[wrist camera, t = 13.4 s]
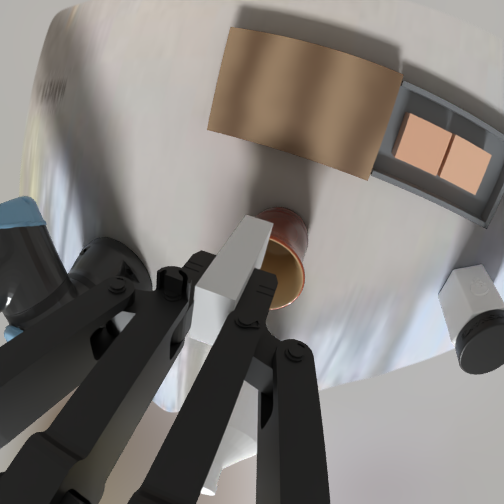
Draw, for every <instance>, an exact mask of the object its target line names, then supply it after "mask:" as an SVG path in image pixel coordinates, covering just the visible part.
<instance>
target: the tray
mask: <svg viewBox="0 0 504 504" xmlns="http://www.w3.org/2000/svg"><path fill="white" fill-rule="evenodd" d="M405 112H408V113H411V114H413V115H415V116H417V117H420V118H422V119H424V120H426V121H428V122H430V123H432V124H434V125H436V126H438V127H440V128H442V129H444V130H446V131H448V132H451V133H453V134H456V135H457V136H459V137H461V138H463V139H465V140H467V141H468V142H470V143H472V144H474V145H475V146H477V147H479V148H481V149H482V150H484V151H486V152H487V153H489V154H491V155H492V156H491V159H490V161H489V164H488V166H487V169H486V171H485V174H484V176H483V178H482V181H481V183H480V186H479V188H478V190H477V192H476V195H474V194H472V193H470V192H468V191H466V190H464V189H462V188H461V187H459V186H457V185H455V184H453V183H451V182H449V181H447V180H445V179H443V178H441V177H439V176H438V175H436V176H435V175H432V174H430V173H428V172H426V171H424V170H422V169H420V168H417V167H415V166H413V165H411V164H409V163H406V162H404V161H402V160H399V159H397V158H395V157H394V156H393V155H392V153H391V152H392V150H393V147H394V144H395V141H396V139H397V136H398V133H399V130H400V127H401V124H402V121H403V118H404V115H405ZM371 176H373V177H376V178H378V179H381V180H383V181H386V182H388V183H391V184H393V185H395V186H398V187H400V188H402V189H405V190H407V191H409V192H412V193H414V194H416V195H418V196H421V197H423V198H425V199H427V200H429V201H432V202H434V203H436V204H438V205H440V206H442V207H444V208H446V209H448V210H450V211H452V212H454V213H456V214H458V215H460V216H462V217H464V218H466V219H468V220H470V221H472V222H474V223H476V224H478V225H480V226H482V227H484V228H485V229H487V227H488V225H489V223H490V221H491V219H492V217H493V215H494V213H495V211H496V209H497V207H498V205H499V203H500V200H501V198H502V196H503V194H504V134H502V133H501V132H499V131H497V130H496V129H494V128H493V127H491V126H490V125H488V124H486V123H485V122H483V121H482V120H480V119H478V118H477V117H475V116H473V115H471V114H470V113H468V112H466V111H464V110H463V109H461V108H459V107H457V106H455V105H453V104H452V103H450V102H448V101H446V100H444V99H442V98H440V97H438V96H436V95H434V94H432V93H430V92H428V91H426V90H424V89H421V88H419V87H417V86H415V85H413V84H410V83H408V82H406V81H402V82H401V85H400V89H399V92H398V95H397V98H396V101H395V104H394V107H393V111H392V114H391V117H390V120H389V123H388V126H387V128H386V131H385V134H384V137H383V140H382V143H381V146H380V149H379V151H378V154H377V157H376V160H375V162H374V165H373V168H372V170H371Z"/></svg>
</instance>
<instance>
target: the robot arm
mask: <svg viewBox="0 0 504 504" xmlns="http://www.w3.org/2000/svg"><path fill="white" fill-rule="evenodd" d="M273 224H274V223H271V222H268V221H265V220H261V219H258V218H255V217H252V216H249V215H245V217H244V218H243V219H242V221H241V222H240V224H239V225H238V226H237V228H236V229H235V231H234V232H233V233H232V235H231V236H230V238H229V239H228V240H227V242H226V243H225V245H224V246H223V247H222V249H221V250H220V252H219V253H218V254H217V256H216V255H214V254H211V253H208V252H205V251H199V252H197V253H195V254H193V255H192V256H191V258H190V259H189V260H188V262H186V264H185V265H184V267H182V268H180V267H175V266H167V267H164V268H161V269H160V270H158V271H157V285H156V290H155V291H152V285H151V281H150V278H149V275H148V273H147V271H146V269H145V267H144V265H143V264H142V262H141V261H140V260H139V258H138V257H137V256H136V255H135V254H134V253H133V252H132V251H131V250H130V249H129V248H128V247H126V246H125V245H123V244H122V243H120V242H118V241H116V240H113V239H110V238H98V239H95V240H93V241H92V242H91V243H89V244H88V245H87V246H85V247H84V248H83V250H82V251H81V253H80V255H79V256H78V258H77V259H76V261H75V263H74V265H73V266H72V268H71V270H70V272H69V273H68V274H67V272H66V270H65V268H64V266H63V264H62V262H61V260H60V257H59V255H58V253H57V251H56V248H55V246H54V244H53V242H52V239H51V237H50V234H49V232H48V230H47V227H46V225H47V224H46V221H44V220H43V218H42V215H41V213H40V211H39V209H38V206H37V204H36V202H35V201H34V199H32V198H31V197H28V196H22V197H18V198H15V199H12V200H9V201H7V202H4V203H1V204H0V312H3V314H4V315H5V317H6V319H7V320H8V322H9V325H8V326H7V327H6V329H5V331H4V337H5V338H6V341H7V343H6V344H4V345H3V346H1V347H0V448H2V447H3V446H5V445H6V444H7V443H9V442H10V441H11V440H12V439H14V438H15V437H16V436H17V435H18V434H20V433H21V432H22V431H24V429H26V428H27V427H28V426H30V425H31V424H32V423H33V422H35V421H36V420H37V419H38V418H39V417H41V416H42V415H43V414H44V413H45V412H47V411H48V410H49V409H50V408H52V407H53V406H54V405H55V404H57V403H58V402H59V401H60V400H62V399H63V398H64V397H65V396H67V395H68V394H69V393H70V392H71V391H73V390H74V389H75V388H76V387H78V386H79V385H80V386H79V387H78V388H77V390H76V391H75V392H74V394H73V395H72V396H71V398H70V399H69V401H68V402H67V403H66V405H65V406H64V407H63V409H62V410H61V411H60V413H59V414H58V415H57V417H56V418H55V420H54V421H53V422H52V424H51V425H50V427H49V428H48V429H47V430H46V431H44V432H37V433H35V434H33V435H31V436H30V437H29V439H28V440H27V441H26V442H25V444H24V445H23V447H22V448H21V449H20V451H19V452H18V454H17V455H16V457H15V458H14V460H13V461H12V463H11V464H10V466H9V467H8V468H7V470H6V471H5V472H1V473H0V504H98V503H99V501H100V499H101V498H102V495H103V492H104V487H105V483H106V480H107V478H108V476H109V475H110V473H111V471H112V469H113V468H114V466H115V464H116V462H117V460H118V459H119V457H120V455H121V453H122V452H123V450H124V448H125V446H126V445H127V443H128V441H129V439H130V438H131V436H132V434H133V432H134V430H135V429H136V427H137V425H138V424H139V422H140V420H141V418H142V417H143V415H144V413H145V411H146V410H147V408H148V406H149V404H150V403H151V401H152V399H153V398H154V396H155V394H156V392H157V391H158V389H159V387H160V385H161V384H162V382H163V380H164V379H165V377H166V375H167V373H168V372H169V370H170V368H171V366H172V365H173V363H174V361H175V360H176V358H177V356H178V354H179V353H180V351H181V349H182V348H183V345H184V341H185V336H186V334H187V333H188V331H189V337H190V338H192V339H195V340H198V341H200V342H203V343H205V344H208V345H211V346H212V348H211V350H210V352H209V354H208V356H207V358H206V360H205V362H204V364H203V366H202V368H201V370H200V372H199V374H198V376H197V378H196V380H195V382H194V384H193V386H192V388H191V390H190V392H189V393H188V395H187V397H186V399H185V401H184V403H183V405H182V407H181V409H180V411H179V413H178V415H177V417H176V419H175V421H174V423H173V425H172V427H171V429H170V431H169V433H168V435H167V437H166V439H165V441H164V443H163V445H162V447H161V449H160V450H159V452H158V455H157V456H156V458H155V460H154V462H153V464H152V466H151V468H150V470H149V472H148V474H147V476H146V478H145V480H144V482H143V483H142V485H141V487H140V488H139V489H138V490H137V491H136V492H135V493H134V494H133V496H132V497H131V498H130V500H129V502H128V504H196V502H197V500H198V497H199V495H200V493H201V490H202V488H203V485H204V483H205V480H206V478H207V476H208V473H209V471H210V468H211V466H212V463H213V461H214V458H215V456H216V453H217V450H218V448H219V445H220V443H221V440H222V438H223V435H224V433H225V430H226V427H227V425H228V422H229V420H230V417H231V414H232V412H233V409H234V406H235V404H236V401H237V398H238V396H239V393H240V390H241V388H242V385H243V382H244V380H245V381H246V382H247V383H249V384H250V385H252V386H253V387H255V388H256V389H258V423H257V480H256V504H330V494H329V483H328V472H327V462H326V453H325V443H324V434H323V426H322V417H321V409H320V401H319V393H318V385H317V378H316V371H315V363H314V356H313V353H312V351H311V349H310V348H309V347H308V346H307V345H306V344H304V343H303V342H301V341H298V340H295V339H287V340H284V341H280V340H278V339H277V338H275V337H274V336H273V335H271V333H270V332H269V331H268V329H267V327H266V323H265V322H266V317H267V315H268V312H269V309H270V306H271V303H272V300H273V297H274V294H275V291H276V288H277V285H278V280H277V277H276V275H275V274H272V273H269V272H266V271H263V270H260V268H261V265H262V262H263V259H264V255H265V252H266V248H267V245H268V241H269V238H270V234H271V231H272V227H273ZM189 329H190V330H189Z"/></svg>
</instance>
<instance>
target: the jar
mask: <svg viewBox="0 0 504 504" xmlns="http://www.w3.org/2000/svg"><path fill="white" fill-rule="evenodd" d="M438 299H439V302H440V305H441V308H442V311H443V314H444V318H445V321H446V324H447V328H448V331H449V335H450V339H451V342H452V344H453V345H454V347H455V349H456V353H457V357H458V361H459V365H460V367H461V368H462V370H464V371H465V372H467V373H469V374H484V373H488V372H490V371H493V370H495V369H497V368H498V367H500V366H501V365H503V364H504V302H503V300H502V298H501V296H500V294H499V293H498V291H497V289H496V287H495V285H494V284H493V282H492V280H491V278H490V277H489V275H488V273H487V272H486V270H485V268H484V267H483V265H482V264H480V265H475V266H470V267H465V268H459V269H454V270H452V272H451V274H450V276H449V278H448V279H447V281H446V283H445V285H444V286H443V288H442V290H441V291H440V293H439V295H438Z"/></svg>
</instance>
